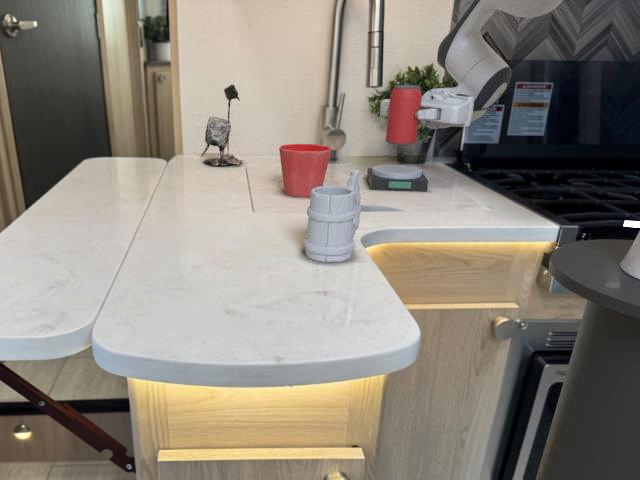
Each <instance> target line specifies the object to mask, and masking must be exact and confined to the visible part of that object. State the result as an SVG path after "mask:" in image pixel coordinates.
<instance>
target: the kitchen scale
mask: <svg viewBox="0 0 640 480" xmlns="http://www.w3.org/2000/svg"><path fill="white" fill-rule="evenodd" d="M366 179H367V182H368V185H369V187H370V190H373V191H406V192H427V191H428V185H429V179H428V178H427V177H426V176H425V175H424V173H423V169H422V168H420V167H417V166H412V165H407V164H379V165H375V166H373V167H367V172H366Z"/></svg>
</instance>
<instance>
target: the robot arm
mask: <svg viewBox="0 0 640 480" xmlns="http://www.w3.org/2000/svg"><path fill="white" fill-rule="evenodd" d="M563 1H564V0H473V2H472V3H471V4H470V5H469V6H468V8H467V9H466V11H465V12H464V14H463V15H462V16H461V18H460V19H459V21H458V22H457V23H456V25H455V26H454V27H453V29H452V30H451V31H450V32H449V33H447V35H445V37H444V38H443V39H442V41H441V42H440V43H439V45H438V48H437V53H436V54H437V56H436V62H437V64H438V65H439V67H440V68H442V69H443V70H444V71H445V72H446V73H448V74H449V75H450V77H452V79H453V80H454V81H455V82H456V83H457V84H458V85H457V86H453V87H440V88H439V87H437V88H432V89H429V90H427V91H426V92H425V93H424V94H423V95H422V99H421V107H420V110H415V112H414V114H415V115H414V118H415V119H419V122H420V123H421V124H422V125H423V126H424V127H426V128H427V129H430V130H437V129H445V128H446V129H447V128H450V127H451V128H455V127H456V128H468V127H470V126H471V123H472V122H474V121H476V120H478V119H480V118H481V117H482V116H483V115H484V114H486V112H487V111H488V109H490V108H491V107H493V106H494V105H495V104H496V103H497V102H498V101H499V100H500V99H501V98H502V97H503V96H504V95H505V93H506V92H507V91H508V89H509V86H510V83H511V78H512V68H511V67H510V66H509V64H508V63H507V62H506V61H505V60H504V59H503V58H502V57H501V56H500V54H498V53H497V52H496V51H495V50H494V49H493V47H491V46H490V45H489V44H488V42H487V41H485V39H484V37H483V35H482V29H483V27H484V26H485V25H486V23H487V22H488V21H489V19H490V18H491V17H492V15H493V14H494V13H495V12H496V11H502V12H504V13H506V14H510V15H511V16H514V17H517V18H524V19H530V18H531V19H532V18H538V17H541V16H545V15H547V14H549V13H551V12H552V11H555V9H557V7H559V6H560V4H562V2H563ZM389 103H390V98H386V99H382V100H381V102H380V107H379V113H380V116H382V117H388V113H389ZM623 227H629V228H640V221H637V220H636V221H635V220H624V223H623ZM634 240H635V241H634V243H633V244H632V246H631V248H630V249H629V251H628V253H627V254H626V255H625V257H624V258H623V260H622V261H621V262H620V267H621V269H622V270H623V271H625V272H626V273H628V274H629V275H631V276H633V277H635V278H637V279H640V230H639V231H638V233H637V235H636V238H635V239H634Z"/></svg>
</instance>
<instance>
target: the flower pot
mask: <svg viewBox="0 0 640 480" xmlns="http://www.w3.org/2000/svg"><path fill="white" fill-rule="evenodd" d="M331 153H332V148H331V147H330V146H327V145H324V144H315V143H313V144H312V143H290V144H289V143H288V144H283V145H280V146H279V158H280V166H281V175H282V183H283V190H284V193H286V195H288V196H292V197H300V198H302V197H303V198H309V197H311V190H312V189H313V188H316V187H320V186H324V181H325V178H326V174H327V170H328V166H329V162H330V157H331Z"/></svg>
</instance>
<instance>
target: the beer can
mask: <svg viewBox="0 0 640 480" xmlns="http://www.w3.org/2000/svg"><path fill="white" fill-rule="evenodd" d="M422 96H423V95H422V91H421V85H417V84H395V85H393V89H392V91H391V92H390V96H389V99H390V103H389V113H388V116H387V122H386V123H387V124H386V131H385V132H386V133H385V141H386V143H388V144H389V145H394V146H411V145H414V144H415V143H416V142H417V137H418V130H419V122H420V120H419V119H415V118H414V115H415V114H414V112H415V110H420V107H421V99H422Z"/></svg>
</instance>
